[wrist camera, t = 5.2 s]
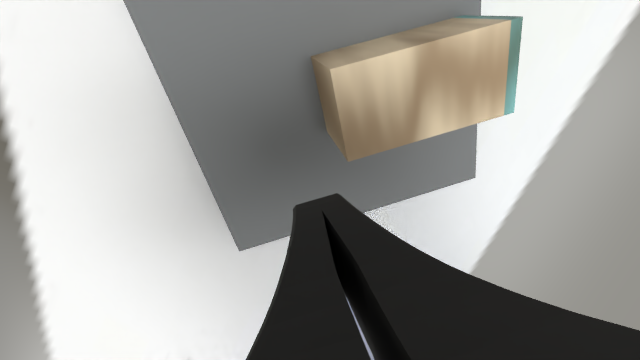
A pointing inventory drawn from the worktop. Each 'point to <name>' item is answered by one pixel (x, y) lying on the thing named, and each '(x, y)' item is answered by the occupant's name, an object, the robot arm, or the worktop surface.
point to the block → (418, 82)
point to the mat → (287, 104)
